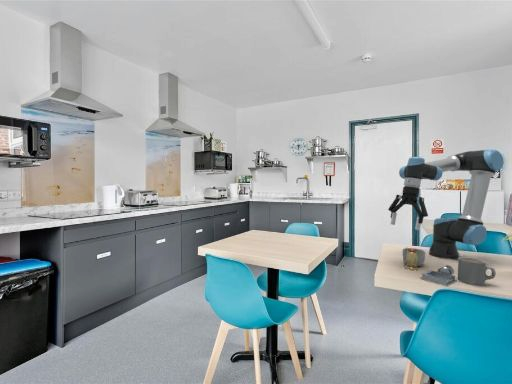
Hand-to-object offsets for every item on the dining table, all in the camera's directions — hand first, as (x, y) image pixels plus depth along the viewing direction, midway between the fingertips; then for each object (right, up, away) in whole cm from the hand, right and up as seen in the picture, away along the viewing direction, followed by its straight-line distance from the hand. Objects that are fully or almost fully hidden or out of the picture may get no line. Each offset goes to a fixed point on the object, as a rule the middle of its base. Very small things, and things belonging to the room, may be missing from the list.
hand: (404, 227), depth 146 cm
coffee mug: (+22, -23, -19) cm, 37 cm away
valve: (+3, -21, -1) cm, 22 cm away
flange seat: (+9, -22, -15) cm, 28 cm away
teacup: (+8, -21, +8) cm, 24 cm away
